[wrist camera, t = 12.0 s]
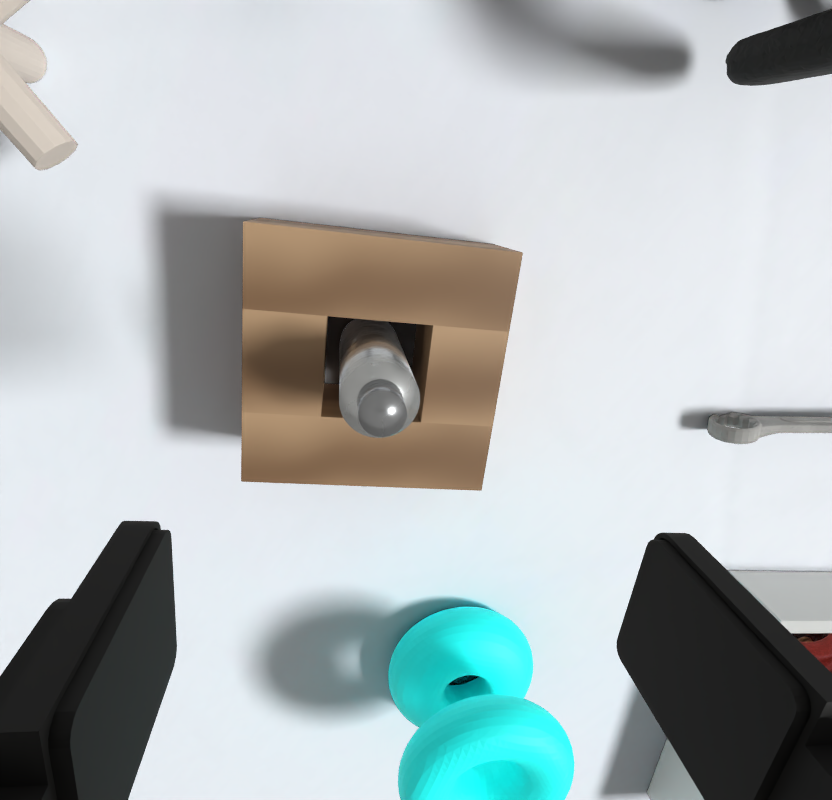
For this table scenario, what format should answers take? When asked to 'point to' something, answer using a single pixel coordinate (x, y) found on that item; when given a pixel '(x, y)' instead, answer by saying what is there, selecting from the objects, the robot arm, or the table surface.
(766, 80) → the milk frother
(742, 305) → the table surface
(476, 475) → the socket block
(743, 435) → the combination wrench
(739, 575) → the parts tray
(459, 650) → the donuts
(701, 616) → the robot arm
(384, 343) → the round bit
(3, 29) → the pipe connector
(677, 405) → the table surface
